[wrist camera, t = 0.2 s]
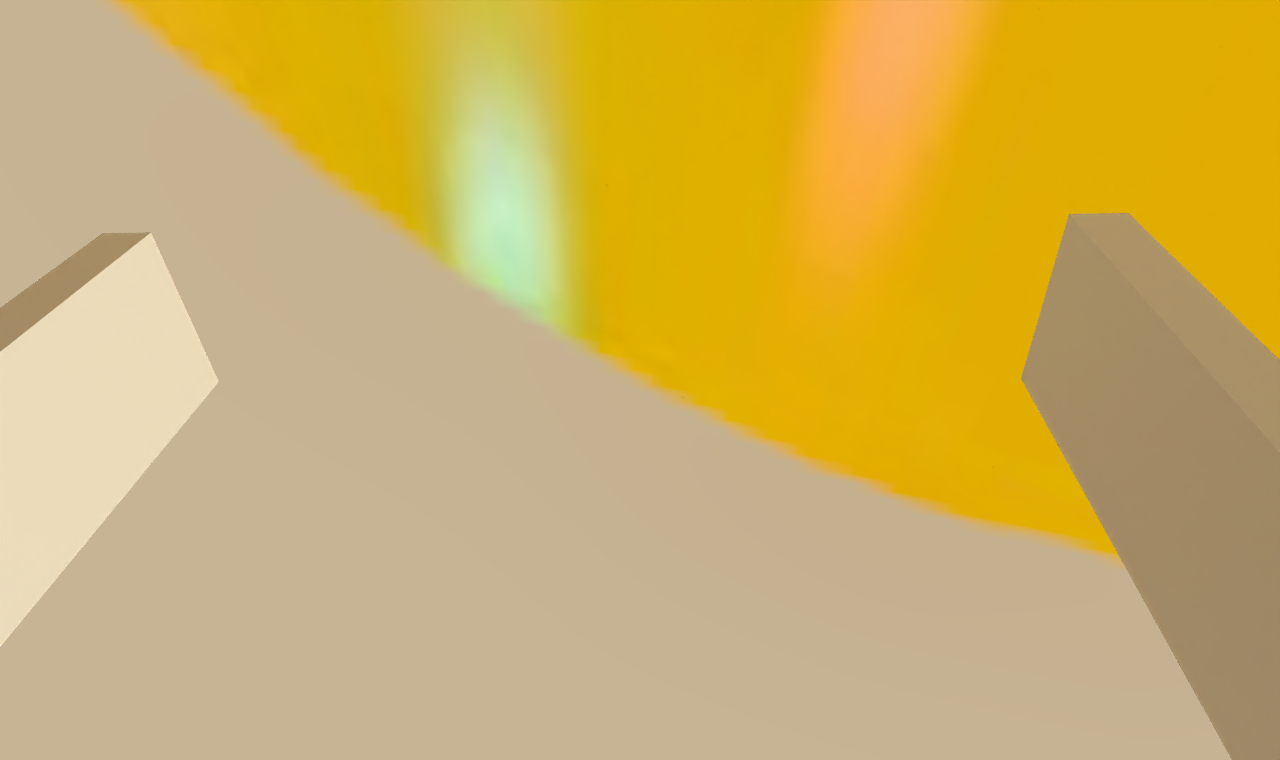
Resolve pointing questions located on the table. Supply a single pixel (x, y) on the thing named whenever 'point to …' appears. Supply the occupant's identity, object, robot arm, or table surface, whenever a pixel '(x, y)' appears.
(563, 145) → the table surface
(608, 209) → the table surface
